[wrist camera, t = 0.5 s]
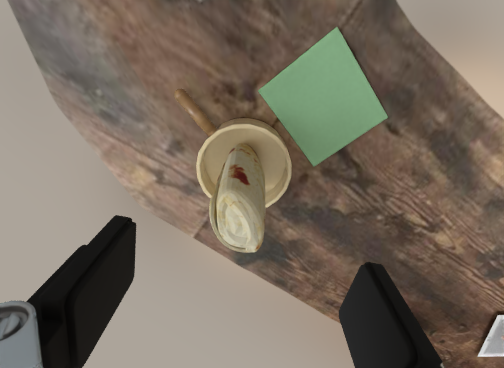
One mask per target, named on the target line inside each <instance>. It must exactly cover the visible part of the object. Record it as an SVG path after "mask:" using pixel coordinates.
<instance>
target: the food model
mask: <svg viewBox="0 0 504 368" xmlns="http://www.w3.org/2000/svg"><path fill="white" fill-rule="evenodd" d="M209 216H210V221H211V225H212V228H213V230H214V232H215V234H216V237H217V238H218V239H219V240H220V241H221V242H222V243H223V244H224V245H225V246H227V247H228V248H230V249H232V250H235V251H238V252H256V251H257V250H258V249H259V248H260V246H261V244H262V242H263V237H264V228H265V176H264V171H263V168H262V165H261V162H260V161H259V158H258V156H257V154H256V152H255V151H254V150H253V149H252V147H250V146H249V145H248V144H245V143H239V144H237V145H235V146H234V147H233V148H232V149H231V150H230V152H229V155H228V158H227V160H226V161H225V163H224V164H223V167H222V169H221V172H220V175H219V177H218V180H217V183H216V186H215V189H214V192H213V195H212V198H211V200H210V205H209Z"/></svg>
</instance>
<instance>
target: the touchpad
mask: <svg viewBox="0 0 504 368" xmlns="http://www.w3.org/2000/svg"><path fill="white" fill-rule="evenodd" d="M480 356H504V315H497V318H496V320H495V322H494V324H493V326H492V328H491V330H490V332H489V334H488V336H487V338H486V340H485V342H484V344H483V346H482V348H481V350H480V352H479V354H478V357H480Z"/></svg>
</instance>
